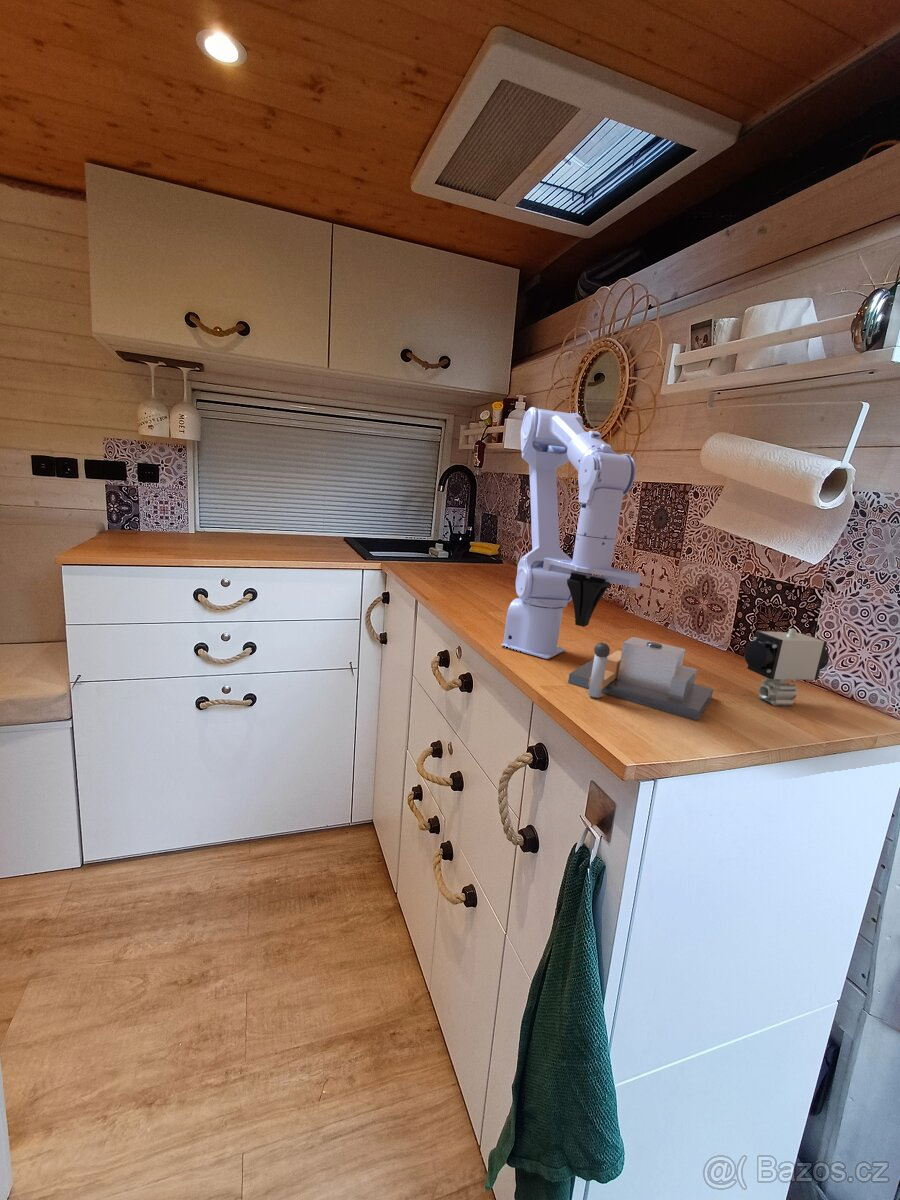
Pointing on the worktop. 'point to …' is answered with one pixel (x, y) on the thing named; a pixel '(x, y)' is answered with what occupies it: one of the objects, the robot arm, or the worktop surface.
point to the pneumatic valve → (785, 662)
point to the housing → (649, 664)
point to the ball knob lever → (603, 669)
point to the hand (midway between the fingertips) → (581, 624)
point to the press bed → (656, 692)
